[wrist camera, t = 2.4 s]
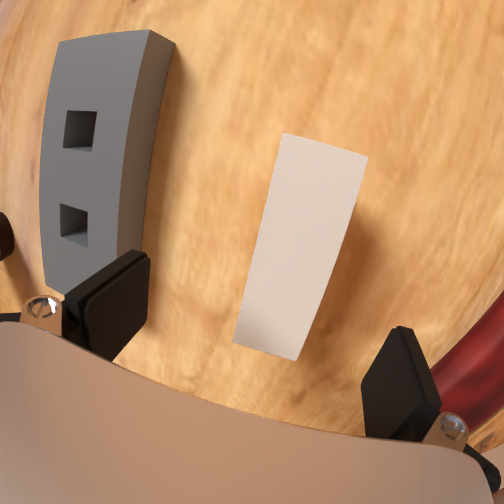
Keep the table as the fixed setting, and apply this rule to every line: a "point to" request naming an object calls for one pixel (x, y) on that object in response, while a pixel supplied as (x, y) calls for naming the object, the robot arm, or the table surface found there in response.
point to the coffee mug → (5, 237)
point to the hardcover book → (475, 371)
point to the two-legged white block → (297, 243)
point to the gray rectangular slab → (98, 150)
